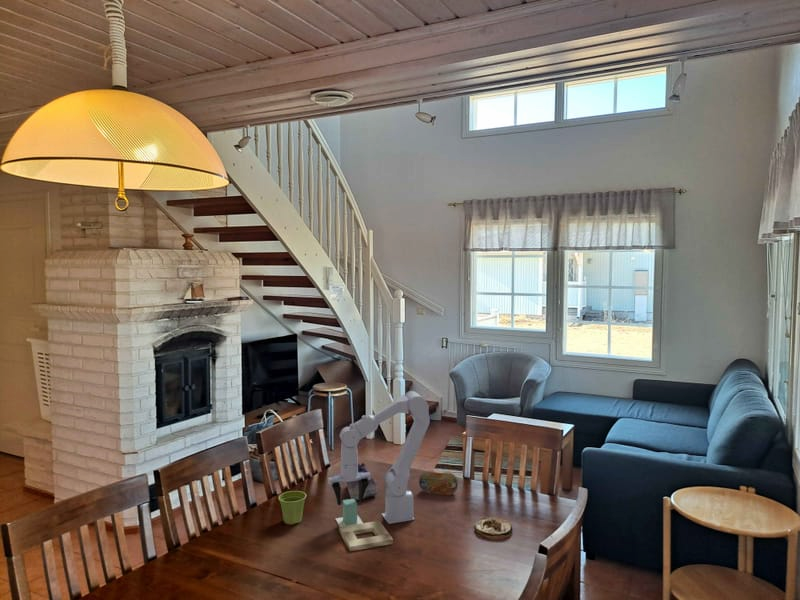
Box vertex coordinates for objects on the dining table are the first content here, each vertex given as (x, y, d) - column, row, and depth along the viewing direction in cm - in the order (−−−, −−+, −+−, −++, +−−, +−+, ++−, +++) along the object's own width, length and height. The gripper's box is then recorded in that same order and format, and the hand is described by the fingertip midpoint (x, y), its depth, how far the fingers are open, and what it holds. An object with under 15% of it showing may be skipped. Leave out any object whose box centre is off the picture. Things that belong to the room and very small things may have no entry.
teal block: (354, 518, 193) (353, 498, 192) (357, 523, 189) (357, 503, 188) (342, 520, 191) (342, 500, 191) (345, 525, 187) (345, 504, 187)
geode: (339, 483, 226) (342, 459, 226) (366, 484, 229) (369, 460, 229) (347, 501, 206) (350, 474, 206) (377, 502, 209) (381, 476, 209)
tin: (418, 492, 217) (418, 471, 216) (420, 489, 220) (420, 468, 219) (456, 497, 212) (457, 475, 212) (458, 493, 215) (458, 472, 215)
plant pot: (300, 528, 186) (300, 502, 186) (274, 525, 188) (273, 500, 187) (310, 516, 195) (310, 491, 195) (285, 513, 197) (285, 489, 197)
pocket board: (379, 524, 189) (379, 520, 189) (393, 543, 176) (393, 539, 176) (338, 531, 184) (338, 527, 184) (350, 551, 171) (350, 546, 171)
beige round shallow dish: (522, 528, 187) (522, 516, 187) (506, 547, 174) (506, 534, 174) (481, 518, 195) (481, 506, 194) (463, 535, 182) (463, 523, 182)
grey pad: (357, 516, 195) (357, 514, 195) (364, 525, 188) (364, 524, 188) (335, 519, 193) (335, 518, 193) (341, 529, 185) (341, 528, 185)
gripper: (366, 456, 195) (366, 494, 196) (325, 461, 190) (326, 500, 191) (372, 463, 189) (372, 502, 190) (330, 468, 184) (331, 509, 185)
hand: (349, 502), depth 190 cm, fingers open, 7 cm apart
